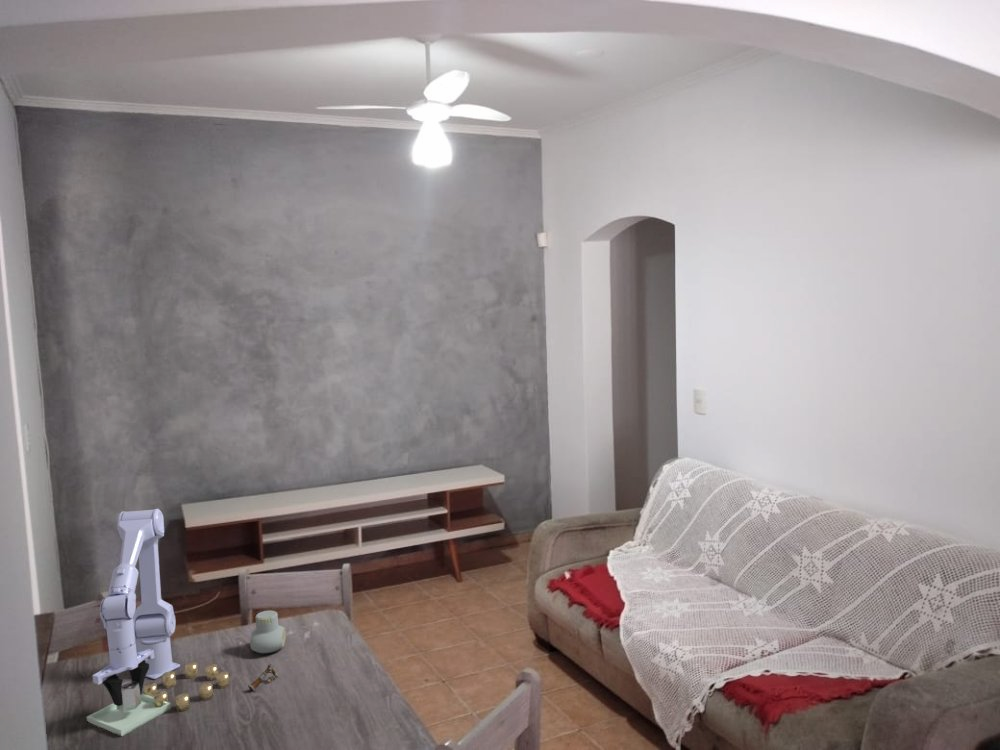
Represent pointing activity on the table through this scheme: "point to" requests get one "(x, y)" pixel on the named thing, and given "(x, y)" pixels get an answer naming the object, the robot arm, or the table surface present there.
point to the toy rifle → (262, 676)
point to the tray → (127, 716)
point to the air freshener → (267, 633)
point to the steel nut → (130, 696)
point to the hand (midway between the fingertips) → (127, 699)
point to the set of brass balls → (183, 699)
